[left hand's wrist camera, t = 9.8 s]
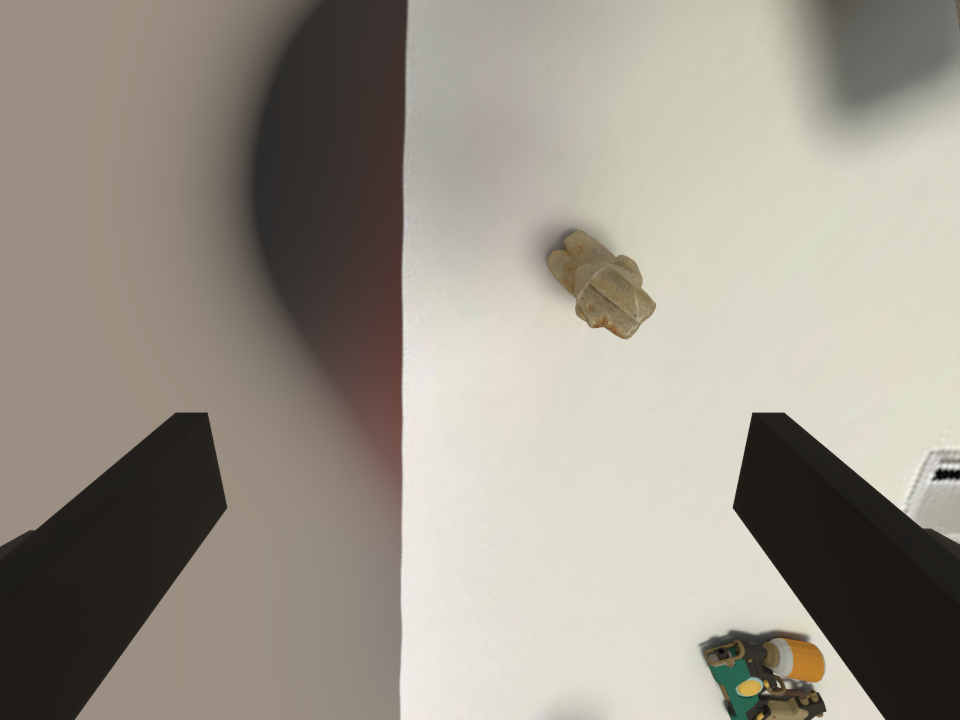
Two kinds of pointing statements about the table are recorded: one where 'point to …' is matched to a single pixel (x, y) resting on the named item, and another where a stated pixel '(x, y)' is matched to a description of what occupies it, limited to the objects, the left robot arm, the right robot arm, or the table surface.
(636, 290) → the sculpture
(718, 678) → the spray gun
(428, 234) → the table surface
